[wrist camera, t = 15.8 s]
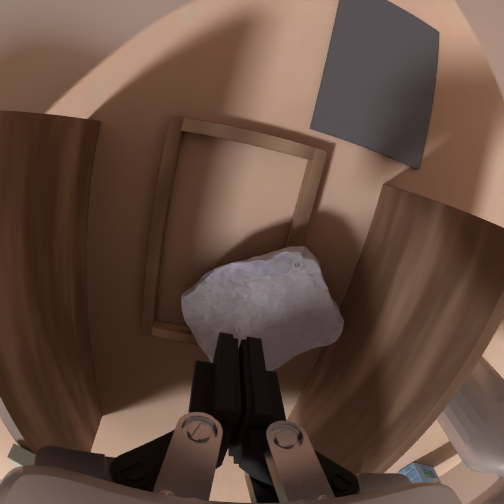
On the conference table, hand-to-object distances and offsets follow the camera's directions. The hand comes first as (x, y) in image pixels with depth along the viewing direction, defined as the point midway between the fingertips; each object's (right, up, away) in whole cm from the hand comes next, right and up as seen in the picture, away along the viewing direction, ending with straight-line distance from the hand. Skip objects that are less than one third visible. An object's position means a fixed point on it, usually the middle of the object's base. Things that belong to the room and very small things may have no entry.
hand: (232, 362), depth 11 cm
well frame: (-4, -3, +16) cm, 16 cm away
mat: (+12, +21, +8) cm, 25 cm away
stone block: (-1, +4, +11) cm, 12 cm away
